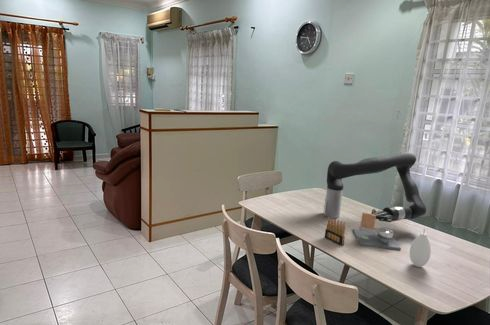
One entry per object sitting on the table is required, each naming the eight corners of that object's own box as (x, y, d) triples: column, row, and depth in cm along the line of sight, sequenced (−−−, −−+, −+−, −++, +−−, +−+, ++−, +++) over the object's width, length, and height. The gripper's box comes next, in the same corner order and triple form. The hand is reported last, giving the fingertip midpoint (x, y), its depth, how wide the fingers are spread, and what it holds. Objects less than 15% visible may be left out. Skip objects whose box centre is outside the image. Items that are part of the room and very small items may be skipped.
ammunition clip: (343, 245, 160) (347, 222, 157) (341, 246, 159) (344, 223, 156) (326, 237, 168) (329, 215, 166) (324, 237, 167) (326, 215, 165)
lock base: (360, 245, 160) (361, 238, 160) (352, 230, 178) (353, 223, 177) (400, 250, 159) (401, 242, 158) (388, 234, 176) (389, 227, 175)
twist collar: (393, 235, 165) (396, 217, 162) (391, 240, 159) (395, 222, 156) (361, 227, 172) (363, 210, 170) (358, 232, 166) (361, 214, 164)
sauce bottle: (404, 260, 149) (411, 223, 145) (421, 261, 149) (429, 225, 145) (412, 269, 141) (420, 231, 137) (430, 271, 141) (438, 232, 137)
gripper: (385, 202, 178) (360, 205, 171) (405, 211, 167) (379, 215, 160) (383, 215, 180) (358, 219, 173) (402, 225, 168) (377, 229, 161)
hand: (368, 217), depth 166 cm, fingers closed
